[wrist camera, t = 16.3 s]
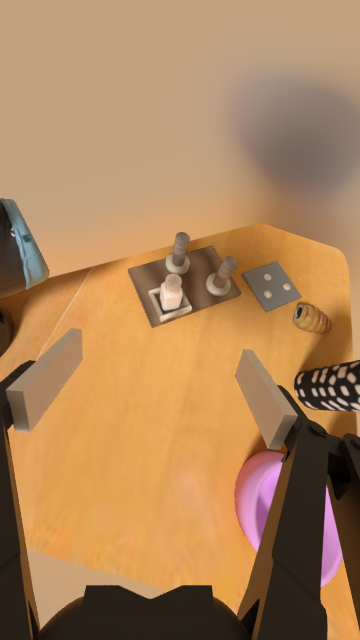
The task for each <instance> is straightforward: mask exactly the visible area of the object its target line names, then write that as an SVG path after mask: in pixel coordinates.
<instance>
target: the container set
mask: <svg viewBox="0 0 360 640" xmlns="http://www.w3.org/2000/svg"><path fill="white" fill-rule="evenodd" d="M283 457H284V454H282V453H279V452H275V451H263V452H259V453H257V454H255V455H253V456H252V457H251V458H249V459H248V460H247V461H246V462H245V464H244V465H243V466H242V468H241V470H240V472H239V474H238V477H237V480H236V484H235V492H234V501H235V509H236V515H237V518H238V521H239V524H240V527H241V529H242V530H243V532H244V534H245V536H246V537H247V539H248V540H249V542H250V543H251V545H252V546H253V547H254V549H255V550H256V552H258V548H259V545H260V541H261V538H262V534H263V531H264V527H265V523H266V520H267V516H268V513H269V509H270V506H271V502H272V499H273V495H274V492H275V488H276V485H277V481H278V478H279V474H280V471H281V467H282V464H283V463H282V462H281V460H282V459H283ZM342 558H343V555H342V550H341V546H340V542H339V537H338V533H337V528H336V524H335V520H334V515H333V511H332V506H331V502H330V497H329V493H328V489H327V485H326V503H325V520H324V537H323V555H322V572H321V587H323V586H324V585H325V584H327V583H328V582H329V581H330V580H331V579H332V578H333V577H334V575H335V574H336V572H337V570H338V568H339V566H340V564H341V561H342Z"/></svg>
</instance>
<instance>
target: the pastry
mask: <svg viewBox="0 0 360 640" xmlns="http://www.w3.org/2000/svg"><path fill="white" fill-rule="evenodd" d="M293 320H294V322H295V324H296V325H297V326H298V327H299V328H300V329H303V330H304V331H308V332H313V333H318V334H323V333H327V332H329V331H330V329H331V327H332V323H331V321H330V320H329V319H328V318H327V316H326V315H324V314H323V312H321V311H319V309H318V308H313V306H312V305H305V304H299V305H298V306H297V308H296V309H295V316H294V319H293Z"/></svg>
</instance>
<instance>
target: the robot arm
mask: <svg viewBox="0 0 360 640" xmlns="http://www.w3.org/2000/svg"><path fill="white" fill-rule="evenodd" d="M48 276H49V269H48V267H47V265H46V263H45V260H44V259H43V256H42V254H41V252H40V250H39V248H38V246H37V244H36V242H35V240H34V238H33V236H32V234H31V232H30V230H29V228H28V226H27V224H26V222H25V220H24V218H23V216H22V214H21V212H20V210H19V208H18V206H17V204H16V203H15V201H13V200H12V199H3V198H1V199H0V299H3V298H6V297H8V296H11V295H14V294H16V293H19V292H22V291H25V290H29V289H30V288H31V287H33V286H35V285H37V284H39V283H42V282H44V281H45V280H46V279H47V278H48ZM12 336H13V322H12V319H11V317H10V315H9V314H8V312H7V311H6V310H4V309H3V308H2V307H0V356H1V355H2V354H3V353H4V351H5V350H6V349H7V347H8V345H9V344H10V341H11V339H12ZM82 360H83V357H82V330H79V329H70V330H69V331H68V332H67V333H66V334H65V335H64V336H63V337H62V338H61V339H59V340H58V341H57V342H56V343H55V344H54V345H53V346H52V347H51V348H50V349H49V350H48V351H47V352H46V353H45V354H43V355H42V356H41V357H40V358H39V359H38V360H37V361H31V360H30V361H28V362H26V363H24V364H21V365H20V366H19V367H18V368H17V369H15V370H14V372H12V373H11V374H10V375H9V376H8V377H6V378H5V379H4V380H3V381H1V382H0V640H327V614H326V609H325V608H324V607H323V605H322V604H321V600H320V590H321V572H322V555H323V537H324V520H325V503H326V485H327V489H328V493H329V497H330V502H331V506H332V511H333V515H334V520H335V524H336V528H337V533H338V537H339V542H340V546H341V550H342V555H343V559H344V564H345V568H346V572H347V577H348V581H349V586H350V590H351V594H352V599H353V603H354V608H355V612H356V616H357V621H358V625H359V630H360V437H358V436H356V435H353V434H350V433H347V434H345V435H344V436H343V437H342V439H341V438H338V437H335V436H332V435H329V434H328V433H327V431H326V430H325V429H324V428H323V427H322V426H321V425H319V424H318V423H316V422H314V421H311V420H309V419H308V418H307V416H306V415H305V414H304V412H303V411H302V410H301V408H300V407H299V406H298V404H297V403H296V402H295V400H294V399H293V398H292V396H291V395H290V394H289V392H288V391H287V390H286V389H285V388H283V387H282V386H280V385H276V383H275V382H274V380H273V379H272V378H271V376H270V375H269V373H268V372H267V370H266V369H265V368H264V366H263V365H262V363H261V362H260V360H259V359H258V358H257V356H256V355H255V353H254V352H253V350H247V349H243V352H242V355H241V358H240V362H239V365H238V368H237V371H236V374H235V377H236V379H237V381H238V383H239V386H240V388H241V390H242V392H243V394H244V397H245V399H246V401H247V403H248V406H249V408H250V410H251V412H252V414H253V417H254V419H255V421H256V423H257V426H258V428H259V430H260V432H261V434H262V437H263V439H264V441H265V443H266V446H267V448H268V449H277V450H280V449H281V447H282V446H283V444H284V443H285V445H286V447H287V451H286V453H285V455H284V457H283V459H282V460H281V462H282V463H283V464H282V467H281V471H280V474H279V478H278V481H277V485H276V488H275V492H274V495H273V499H272V502H271V506H270V509H269V513H268V516H267V520H266V523H265V527H264V531H263V534H262V538H261V541H260V545H259V548H258V552H257V555H256V559H255V562H254V566H253V569H252V573H251V576H250V580H249V583H248V587H247V590H246V592H245V595H244V597H243V600H242V602H241V605H240V607H239V610H238V613H237V616H236V615H235V613H234V612H233V611H232V610H231V609H230V608H229V607H228V606H227V605H225V604H224V603H223V602H222V601H220V600H219V599H217V598H215V597H213V592H212V585H182V586H180V587H178V588H176V589H173V590H171V591H169V592H167V593H164V594H162V595H160V596H158V597H155V598H153V599H148V598H145V597H143V596H141V595H138V594H136V593H134V592H132V591H130V590H127V589H125V588H123V587H121V586H119V585H104V586H103V585H102V586H101V585H100V586H99V585H94V586H92V585H87V586H86V590H85V594H84V596H83V597H80V598H78V599H76V600H74V601H73V602H71V603H69V604H68V605H66V606H65V607H64V608H63V609H61V610H60V611H59V612H58V613H57V614H56V615H55V616H54V617H52V618H51V619H50V620H49V621H48V623H47V624H46V625H45V626H44V627H43V628H42V629H41V630H40V624H39V618H38V613H37V607H36V602H35V597H34V592H33V587H32V581H31V575H30V569H29V562H28V556H27V549H26V543H25V537H24V531H23V524H22V518H21V512H20V506H19V499H18V493H17V487H16V480H15V474H14V468H13V462H12V455H11V449H10V443H9V436H8V432H7V430H8V429H9V428H10V427H11V425H12V424H13V425H14V429H15V431H18V432H31V431H32V430H33V428H34V427H35V426H36V424H37V423H38V421H39V420H40V419H41V417H42V416H43V414H44V413H45V412H46V410H47V409H48V407H49V406H50V404H51V403H52V402H53V400H54V399H55V397H56V396H57V395H58V393H59V392H60V390H61V389H62V388H63V386H64V385H65V383H66V382H67V381H68V379H69V378H70V376H71V375H72V374H73V372H74V371H75V369H76V368H77V367H78V365H79V364H80V362H81V361H82Z"/></svg>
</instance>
